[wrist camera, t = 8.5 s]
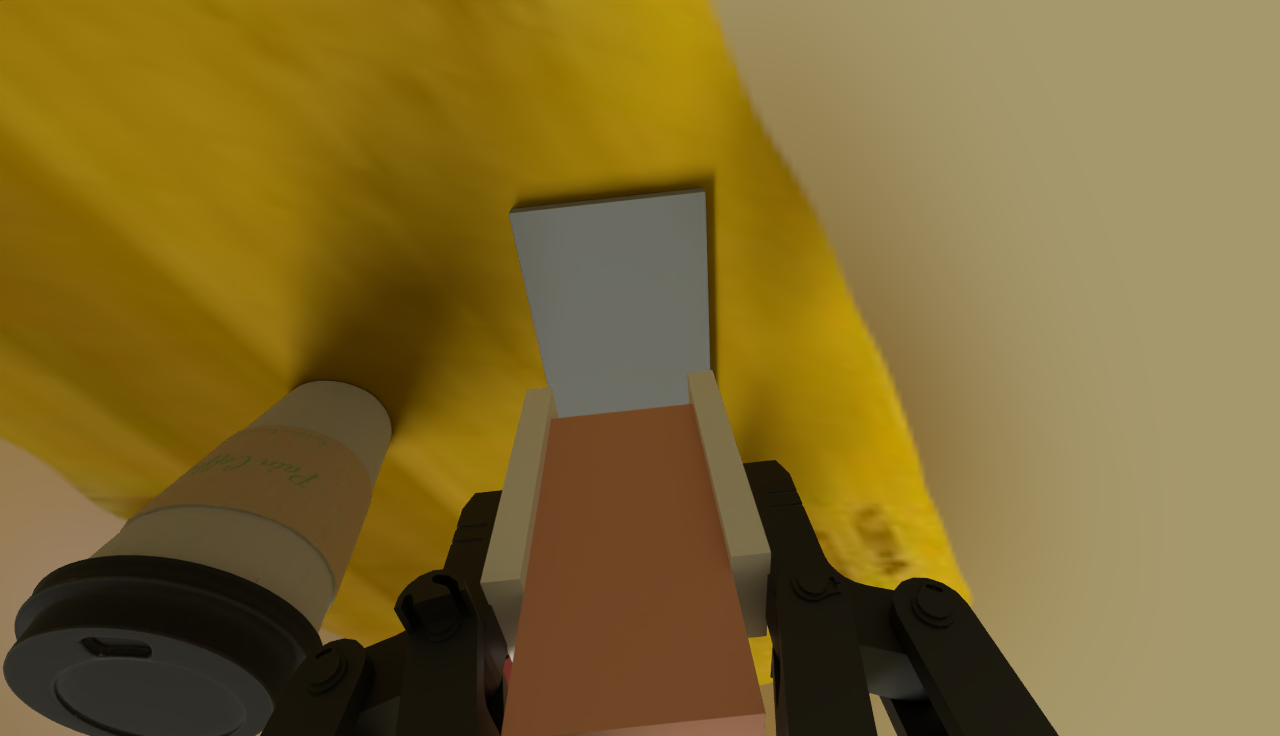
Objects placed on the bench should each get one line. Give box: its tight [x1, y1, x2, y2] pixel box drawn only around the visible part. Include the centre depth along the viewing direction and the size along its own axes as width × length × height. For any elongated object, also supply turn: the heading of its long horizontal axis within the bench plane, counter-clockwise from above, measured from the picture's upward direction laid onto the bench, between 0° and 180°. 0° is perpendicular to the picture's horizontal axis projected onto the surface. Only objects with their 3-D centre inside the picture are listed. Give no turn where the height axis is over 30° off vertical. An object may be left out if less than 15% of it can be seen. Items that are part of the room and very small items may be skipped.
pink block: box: [501, 404, 766, 736], centre depth 14 cm, size 9×4×8 cm, turn 6°
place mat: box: [509, 188, 710, 418], centre depth 28 cm, size 14×9×1 cm, turn 6°
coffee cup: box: [3, 381, 392, 736], centre depth 24 cm, size 10×9×15 cm
